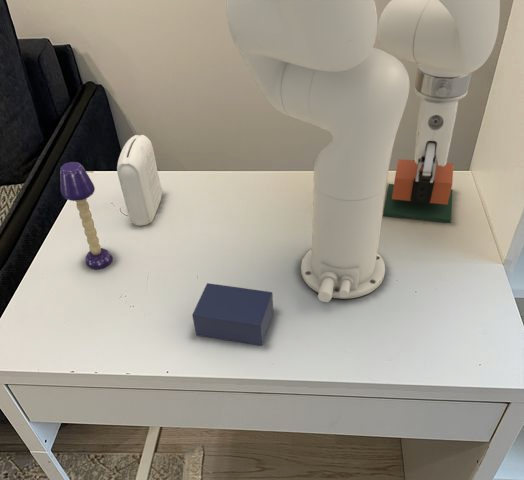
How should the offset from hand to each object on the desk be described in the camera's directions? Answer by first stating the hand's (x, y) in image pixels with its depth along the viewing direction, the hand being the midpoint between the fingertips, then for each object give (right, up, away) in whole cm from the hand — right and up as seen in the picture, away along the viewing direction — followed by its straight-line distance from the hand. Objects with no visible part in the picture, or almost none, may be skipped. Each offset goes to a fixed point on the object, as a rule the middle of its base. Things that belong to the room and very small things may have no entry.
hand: (421, 189), depth 92 cm
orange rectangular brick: (0, 0, 0) cm, 1 cm away
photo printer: (-47, -2, +5) cm, 47 cm away
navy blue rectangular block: (-31, -23, -15) cm, 41 cm away
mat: (0, -2, +2) cm, 3 cm away
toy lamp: (-53, -13, -4) cm, 54 cm away
